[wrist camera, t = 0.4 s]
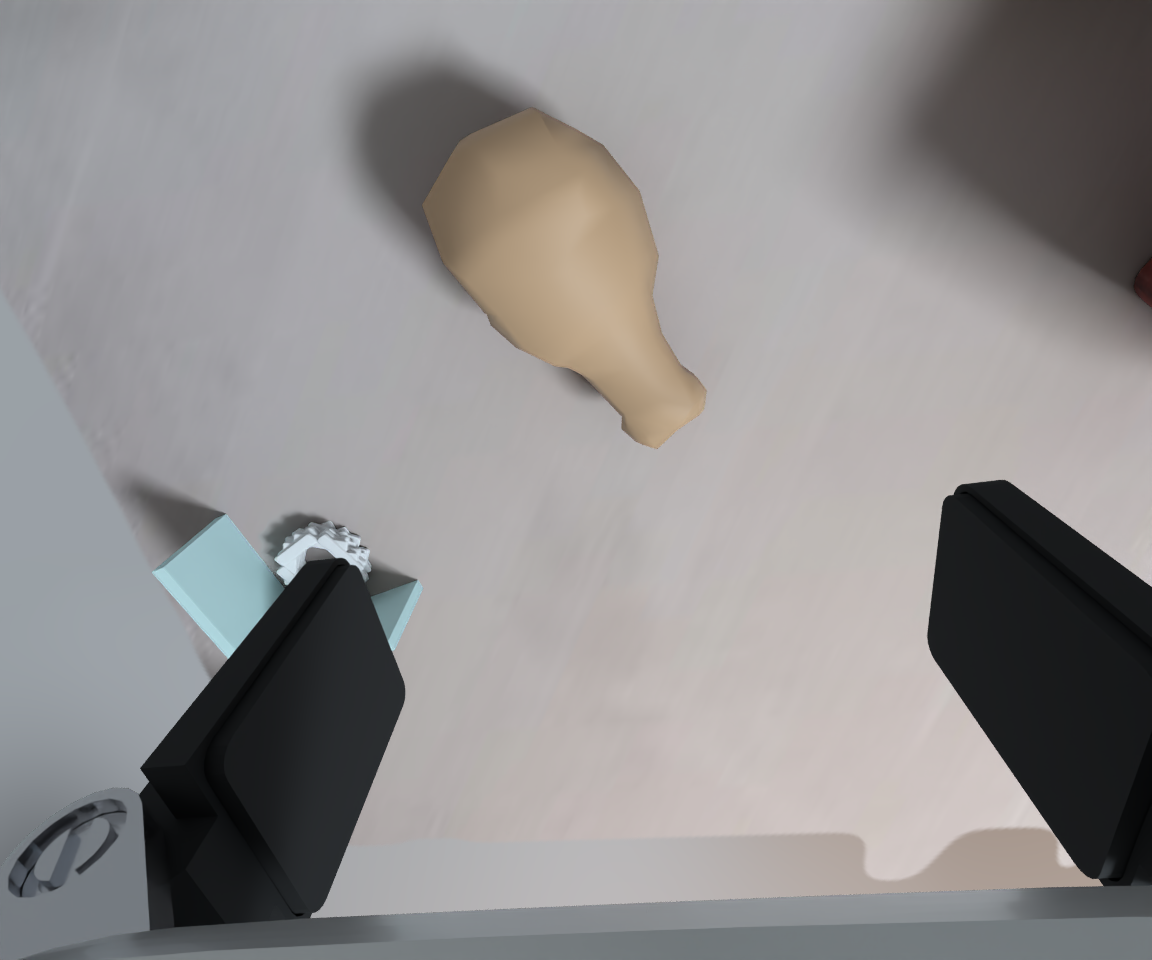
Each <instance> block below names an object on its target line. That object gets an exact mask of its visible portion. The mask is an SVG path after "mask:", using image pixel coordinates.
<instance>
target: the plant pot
mask: <svg viewBox="0 0 1152 960" xmlns="http://www.w3.org/2000/svg"><path fill="white" fill-rule="evenodd" d="M1134 288H1135V292H1136V293H1137V295H1138V296H1139V297H1140V298H1141V299H1142V300H1143V301H1144V302H1146V303H1147V304H1148V305H1149V306H1150V307H1151V308H1152V258H1151V259H1150V260H1149V261H1148V262H1147V264H1146V265H1145V266H1144V267H1143V268H1142V269H1141V271H1140V272H1139V274H1138V275H1137V277H1136V279H1135V283H1134Z"/></svg>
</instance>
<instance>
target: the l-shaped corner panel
mask: <svg viewBox="0 0 1152 960" xmlns="http://www.w3.org/2000/svg"><path fill="white" fill-rule="evenodd" d="M359 544H360V536H357V535H354V534H351V533H350V532H349V531H348V530H347V528H346V527H342V528H339V529H336V528H335V526H334V525H333V523H332V522H331V521H328V522H325V523H322V524H317V523H313V522H310V524H309V525H308V527H305V528H303V529H301V528H298V530H296V531H295V532H293V533H292V536H290V537H286V538H285V542H284V543H283V549H282V550H281V551H280V552H279V553H278V556H276V557H275V558H274V560H275V561H276V562H277V563H279V564H280V565H282V566H281V567H280V568H279V569H278V570H277V572H276V573H277V574H278V575H279V576H280V577H282V578H283V579H284V584H286V585H288V584H289V583H290V582H291V580H292V579H293V578H294V577H295V576H296V574H297V573H298V572H299V571H300V569H301V568H302V567H303V566H304V565H305V564H306V563H307V562H306V561H305V556H306V551H307V549H308V548H310V547H315V548H321V549H326V550H327V551H328V552H329V553H331V554H332V555H333V556H334V557H335V558H344V559H346V560H347V561H348V562H349V563H350V565H356V566H357V567H358V568H359V569H360V571H361V573H362V576H363V579H364V581H365V582H366V580H369V577H368V574H367V573H368V572H370V571H371V568H370V567H372V566H371V564H370V562H369V561H368V556H369V552H370V551H369V550H368V549H367V548H364V547H359ZM152 573H153V574H154V575H155V577H156V578H157V579H158V580H159V581H160V582H161V583H162V584H163V586H164V587H165V588H166V589H167V590H168V591H169V592H170V593H171V595H172V596H173V597H174V598H175V599H176V600H177V601H178V603H179V604H180V605H181V606H182V607H183V608H184V609H185V610H186V612H187V613H188V614H189V615H190V616H191V617H192V618H193V619H194V621H195V622H196V623H197V624H198V625H199V626H200V627H201V629H202V630H203V631H204V632H205V633H206V634H207V635H208V636H209V638H210V639H211V640H212V641H213V642H214V643H215V644H216V645H217V647H218V648H219V649H220V650H221V651H222V652H223V653H224V654H225V656H226V657H227V658H228V659H229V657H230V656H231V655H232V654H233V652H234V651H235V650H236V649H237V647H238V646H239V645H240V644H241V643H242V641H243V640H244V639H245V638H246V636H247V635H248V634H249V633H250V631H251V630H252V629H253V628H254V626H255V625H256V624H257V623H258V621H259V620H260V619H261V618H262V616H263V615H264V614H265V613H266V612H267V610H268V609H269V608H270V607H271V605H272V604H273V603H274V602H275V600H276V599H277V598H278V597H279V595H280V594H281V593H282V592H283V590H284V589H285V588H284V587H283V586H282V585H281V583H280V582H279V581H278V580H277V578H276V577H275V576H274V574H273V573H272V572H271V571H270V569H269V568H268V567H267V565H266V564H265V563H264V562H263V560H262V559H261V558H260V556H259V555H258V554H257V553H256V551H255V550H254V549H253V547H252V546H251V545H250V544H249V542H248V541H247V540H246V539H245V537H244V536H243V535H242V533H241V532H240V531H239V530H238V528H237V527H236V526H235V524H234V523H233V522H232V521H231V519H230V518H229V517H228V515H227V514H225V515H222V516H220V517H218V518H215V519H214V520H213V521H212V522H211V523H210V524H208V525H207V526H206V527H205V528H204V529H202V530H201V531H200V532H199V533H198V534H196V535H195V536H194V537H193V538H192V539H191V540H189V541H188V542H187V543H186V544H185V545H183V546H182V547H181V548H180V549H179V550H177V551H176V552H175V553H174V554H173V555H172V556H170V557H169V558H168V559H167V560H166V561H164V562H163V563H162V564H161V565H160V566H158V567H157V568H156V569H155V570H154V571H153V572H152ZM422 590H423V587H422V585H421V584H420V582H419V581H418V580H416V581H413V582H411V583H408V584H405V585H402V586H399V587H397V588H394V589H391V590H388V591H385V592H382V593H380V594H377V595H374V596H371V599H372V602H373V604H374V607H375V609H376V612H377V614H378V617H379V619H380V622H381V625H382V627H383V630H384V632H385V635H386V637H387V640H388V642H389V645H390V648H391V650H392V651H393V650H395V648H396V646H397V644H398V642H399V640H400V637H401V635H402V633H403V631H404V629H405V627H406V624H407V622H408V620H409V618H410V616H411V614H412V611H413V609H414V607H415V605H416V603H417V601H418V598H419V596H420V594H421V592H422Z"/></svg>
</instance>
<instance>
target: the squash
mask: <svg viewBox="0 0 1152 960" xmlns="http://www.w3.org/2000/svg"><path fill="white" fill-rule="evenodd" d="M422 207H423V209H424V212H425V215H426V218H427V220H428V223H429V226H430V229H431V231H432V234H433V237H434V240H435V242H436V245H437V248H438V251H439V253H440V256H441V259H442V262H443V263H444V265H445V266H446V267H447V268H448V270H449V271H450V272H451V273H452V274H453V276H454V277H455V278H456V279H457V280H458V282H459V283H460V284H461V285H462V286H463V288H464V289H465V290H466V291H467V292H468V294H469V295H470V296H471V297H472V298H473V300H474V301H475V302H476V303H477V304H478V306H479V307H480V308H481V309H482V310H483V312H484V313H485V314H487V316H488V319H489V322H490V324H491V326H492V327H493V328H495V329H496V330H497V331H498V332H499V333H500V334H501V335H502V336H504V337H505V338H506V339H507V340H508V341H509V342H510V343H511V344H512V345H514V346H515V347H516V348H518V349H520V350H522V351H524V352H526V353H528V354H531V355H533V356H535V357H537V358H539V359H541V360H543V361H545V362H547V363H549V364H551V365H553V366H558V367H565V368H569V369H571V370H573V371H575V372H577V373H579V374H581V375H582V376H583V377H584V378H585V379H586V380H587V381H588V382H589V383H591V384H592V385H593V387H594V388H595V389H596V390H597V391H598V392H599V393H600V394H601V395H602V396H603V397H604V398H605V399H606V400H607V401H608V402H609V403H610V405H611V406H612V407H613V408H614V409H615V410H616V411H617V412H618V413H619V414H620V415H621V416H622V430H623V431H624V432H626V433H627V434H628V435H629V436H630V437H631V438H632V439H633V440H634V441H636V442H638V443H640V444H643V445H646V446H649V447H652V448H655V449H658V448H659V447H660V446H661V445H662V444H663V443H664V442H665V441H666V440H667V439H668V438H669V437H671V436H672V435H673V434H674V433H675V432H676V431H677V430H678V429H680V428H681V427H683V426H684V425H685V424H687V423H688V422H690V421H691V420H693V419H694V418H696V417H697V416H699V415H700V413H701V412H702V411H703V410H704V406H705V399H706V391H707V390H706V389H705V388H704V386H703V385H702V383H701V382H700V381H699V379H698V378H697V377H696V376H695V375H694V374H693V373H692V372H690V371H689V370H687V369H686V368H685V367H683V366H682V365H681V364H680V362H679V361H678V359H677V357H676V356H675V354H674V353H673V351H672V349H671V348H670V346H669V344H668V343H667V341H666V339H665V338H664V336H663V334H662V332H661V328H660V324H659V320H658V316H657V312H656V308H655V304H654V300H653V296H652V294H653V288H654V282H655V276H656V269H657V263H658V257H659V255H658V252H657V248H656V245H655V242H654V238H653V235H652V231H651V228H650V225H649V221H648V218H647V214H646V211H645V208H644V204H643V201H642V197H641V194H640V191H639V190H638V188H637V187H636V186H635V185H634V183H633V182H632V181H631V180H630V178H629V177H628V176H627V175H626V173H625V172H624V171H623V169H622V168H621V167H620V166H619V164H618V163H617V162H616V161H615V159H614V158H613V157H612V156H611V154H610V153H609V152H608V150H607V149H606V148H605V147H604V145H602V144H601V143H599V142H597V141H596V140H594V139H592V138H590V137H589V136H587V135H585V134H584V133H582V132H580V131H579V130H577V129H575V128H573V127H571V126H569V125H567V124H565V123H563V122H561V121H559V120H557V119H555V118H553V117H551V116H549V115H547V114H545V113H543V112H541V111H539V110H537V109H535V108H533V107H531V108H528V109H526V110H524V111H521V112H519V113H517V114H515V115H512V116H510V117H508V118H506V119H503V120H501V121H499V122H496V123H494V124H492V125H490V126H487V127H485V128H483V129H481V130H478V131H476V132H474V133H471V134H470V135H468V136H466V137H465V138H463V139H462V140H460V141H459V143H458V144H457V146H456V148H455V149H454V151H453V152H452V154H451V156H450V157H449V159H448V161H447V162H446V164H445V166H444V168H443V169H442V171H441V173H440V175H439V176H438V178H437V180H436V182H435V183H434V185H433V187H432V188H431V190H430V192H429V194H428V195H427V197H426V199H425V201H424V202H423V204H422Z"/></svg>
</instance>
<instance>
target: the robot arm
mask: <svg viewBox="0 0 1152 960" xmlns="http://www.w3.org/2000/svg"><path fill="white" fill-rule="evenodd" d="M927 638H928V645H929V648H930V651H931V654H932V656H933V658H934V660H935V661H936V663H937V664H938V666H939V667H940V668H941V670H942V671H943V673H944V674H945V676H946V677H947V679H948V680H949V681H950V683H951V684H952V686H953V687H954V689H955V690H956V692H957V693H958V695H959V696H960V697H961V699H962V700H963V702H964V703H965V705H966V706H967V708H968V709H969V711H970V712H971V713H972V715H973V716H974V718H975V719H976V721H977V722H978V724H979V725H980V727H981V728H982V729H983V731H984V732H985V734H986V735H987V737H988V738H989V740H990V741H991V743H992V744H993V745H994V747H995V748H996V750H997V751H998V753H999V754H1000V756H1001V757H1002V759H1003V760H1004V761H1005V763H1006V764H1007V766H1008V767H1009V769H1010V770H1011V772H1012V773H1013V774H1014V776H1015V777H1016V779H1017V780H1018V782H1019V783H1020V785H1021V786H1022V788H1023V789H1024V790H1025V792H1026V793H1027V795H1028V796H1029V798H1030V799H1031V801H1032V802H1033V804H1034V805H1035V806H1036V808H1037V809H1038V811H1039V812H1040V814H1041V815H1042V817H1043V818H1044V820H1045V821H1046V822H1047V824H1048V825H1049V827H1050V828H1051V830H1052V831H1053V833H1054V834H1055V836H1056V837H1057V838H1058V840H1059V841H1060V843H1061V844H1062V846H1063V847H1064V849H1065V850H1066V852H1067V853H1068V854H1069V856H1070V857H1071V859H1072V860H1073V862H1074V863H1075V864H1076V866H1077V867H1078V868H1079V869H1080V871H1081V872H1083V873H1084V874H1085V875H1086V876H1087V877H1090V878H1092V879H1099V880H1100V882H1101V883H1102V884H1103V886H1098V887H1051V888H1050V887H1048V888H1025V889H1024V888H1021V889H993V890H966V891H939V892H914V893H913V892H912V893H885V894H858V895H830V896H803V897H777V898H753V899H730V900H706V901H705V900H704V901H680V902H656V903H634V904H611V905H588V906H587V905H586V906H563V907H540V908H517V909H497V910H496V909H495V910H475V911H454V912H433V913H413V914H394V915H393V914H392V915H371V916H351V917H330V918H310V917H311V914H312V913H314V912H317V911H318V910H319V909H320V908H321V907H322V906H323V904H324V902H325V900H326V898H327V896H328V893H329V891H330V888H331V886H332V883H333V881H334V878H335V876H336V873H337V871H338V868H339V866H340V863H341V861H342V858H343V856H344V853H345V850H346V848H347V846H348V843H349V841H350V838H351V836H352V833H353V831H354V828H355V825H356V823H357V820H358V818H359V815H360V813H361V810H362V808H363V805H364V803H365V800H366V798H367V795H368V793H369V790H370V788H371V785H372V783H373V780H374V778H375V775H376V773H377V770H378V767H379V765H380V762H381V760H382V757H383V755H384V752H385V750H386V747H387V745H388V742H389V740H390V737H391V735H392V732H393V730H394V727H395V725H396V722H397V720H398V717H399V715H400V712H401V710H402V707H403V704H404V700H405V685H404V681H403V678H402V676H401V673H400V671H399V668H398V665H397V663H396V660H395V658H394V655H393V653H392V650H391V648H390V645H389V642H388V640H387V637H386V635H385V632H384V630H383V627H382V625H381V622H380V619H379V617H378V614H377V612H376V609H375V607H374V604H373V602H372V599H371V596H370V594H369V591H368V589H367V586H366V584H365V581H364V579H363V576H362V573H361V571H360V569H359V568H358V567H357V566H356V565H350V563H349V562H348V561H347V560H346V559H344V558H334V559H325V560H317V561H310V562H307V563H306V564H305V565H304V566H303V567H302V568H301V569H300V571H299V572H298V573H297V574H296V576H295V577H294V578H293V579H292V580H291V582H290V583H289V584H288V585H287V587H286V588H285V589H284V590H283V592H282V593H281V594H280V595H279V597H278V598H277V599H276V600H275V602H274V603H273V604H272V605H271V607H270V608H269V609H268V610H267V612H266V613H265V614H264V615H263V616H262V618H261V619H260V620H259V621H258V623H257V624H256V625H255V626H254V628H253V629H252V630H251V631H250V633H249V634H248V635H247V636H246V638H245V639H244V640H243V641H242V643H241V644H240V645H239V646H238V647H237V649H236V650H235V651H234V652H233V654H232V655H231V656H230V657H229V659H228V660H227V661H226V662H225V664H224V665H223V666H222V667H221V669H220V670H219V671H218V672H217V674H216V675H215V676H214V677H213V679H212V680H211V681H210V682H209V684H208V685H207V686H206V687H205V689H204V690H203V691H202V692H201V693H200V695H199V696H198V697H197V698H196V700H195V701H194V702H193V703H192V705H191V706H190V707H189V708H188V710H187V711H186V712H185V713H184V715H183V716H182V717H181V718H180V720H179V721H178V722H177V723H176V725H175V726H174V727H173V728H172V729H171V731H170V732H169V733H168V734H167V736H166V737H165V738H164V739H163V741H162V742H161V743H160V744H159V746H158V747H157V748H156V749H155V751H154V752H153V753H152V754H151V755H150V757H149V758H148V759H147V760H146V762H145V763H144V764H143V765H142V767H141V768H140V769H141V771H142V772H143V773H144V775H145V776H146V778H147V779H148V780H149V783H148V784H147V785H146V787H145V788H144V789H143V791H142V792H141V793H140V794H138V793H136V792H135V791H133V790H131V789H129V788H111V789H107V790H103V791H99V792H95V793H93V794H90V795H88V796H86V797H84V798H82V799H79V800H77V801H75V802H73V803H71V804H70V805H68V806H66V807H65V808H63V809H62V810H60V811H58V812H57V813H55V814H54V815H52V816H51V817H49V818H48V819H47V820H46V821H44V822H43V823H42V824H41V825H39V826H38V827H37V828H36V829H34V830H33V831H32V832H31V833H29V835H27V837H26V838H25V839H24V840H23V841H22V842H21V843H20V844H19V845H18V846H17V847H16V848H15V849H14V850H13V851H12V852H11V853H10V855H9V856H8V858H7V859H6V860H5V862H4V863H3V865H2V866H1V868H0V960H1152V587H1151V586H1150V585H1148V584H1147V583H1145V582H1144V581H1143V580H1141V579H1140V578H1139V577H1137V576H1136V575H1135V574H1133V573H1132V572H1131V571H1129V570H1128V569H1127V568H1125V567H1124V566H1122V565H1121V564H1120V563H1118V562H1117V561H1116V560H1114V559H1113V558H1112V557H1110V556H1109V555H1108V554H1106V553H1105V552H1103V551H1102V550H1101V549H1099V548H1098V547H1097V546H1095V545H1094V544H1093V543H1091V542H1090V541H1089V540H1087V539H1086V538H1085V537H1083V536H1082V535H1080V534H1079V533H1078V532H1076V531H1075V530H1074V529H1072V528H1071V527H1070V526H1068V525H1067V524H1066V523H1064V522H1063V521H1061V520H1060V519H1059V518H1057V517H1056V516H1055V515H1053V514H1052V513H1051V512H1049V511H1048V510H1047V509H1045V508H1044V507H1042V506H1041V505H1040V504H1038V503H1037V502H1036V501H1034V500H1033V499H1032V498H1030V497H1029V496H1028V495H1026V494H1025V493H1024V492H1022V491H1021V490H1019V489H1018V488H1017V487H1015V486H1014V485H1013V484H1011V483H1010V482H1008V481H1006V480H996V481H987V482H979V483H970V484H962V485H960V486H958V487H957V489H956V490H955V492H954V495H950V496H947V497H946V498H945V500H944V501H943V506H942V514H941V522H940V531H939V539H938V548H937V556H936V565H935V573H934V582H933V591H932V599H931V608H930V616H929V625H928V635H927Z"/></svg>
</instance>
